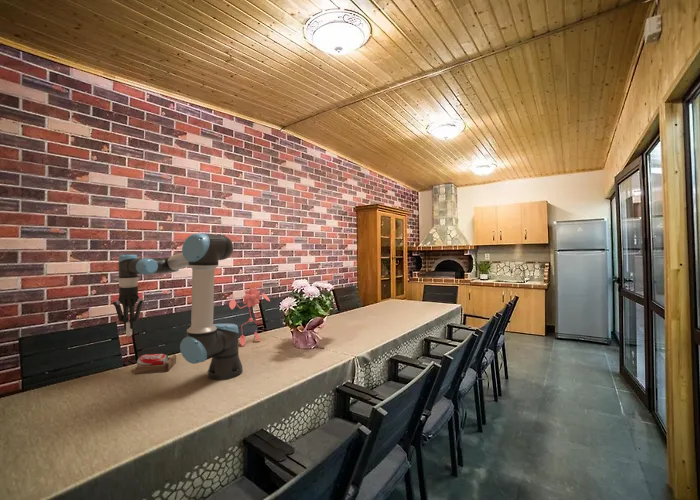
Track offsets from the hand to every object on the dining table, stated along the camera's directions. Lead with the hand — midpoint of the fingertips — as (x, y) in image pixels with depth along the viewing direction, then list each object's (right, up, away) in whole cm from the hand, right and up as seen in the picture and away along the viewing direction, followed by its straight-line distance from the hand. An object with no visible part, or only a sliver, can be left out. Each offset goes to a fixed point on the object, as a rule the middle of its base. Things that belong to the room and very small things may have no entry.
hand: (129, 335), depth 154 cm
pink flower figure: (+47, -17, +41) cm, 64 cm away
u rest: (+12, -17, +3) cm, 21 cm away
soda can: (+4, -13, +1) cm, 14 cm away
